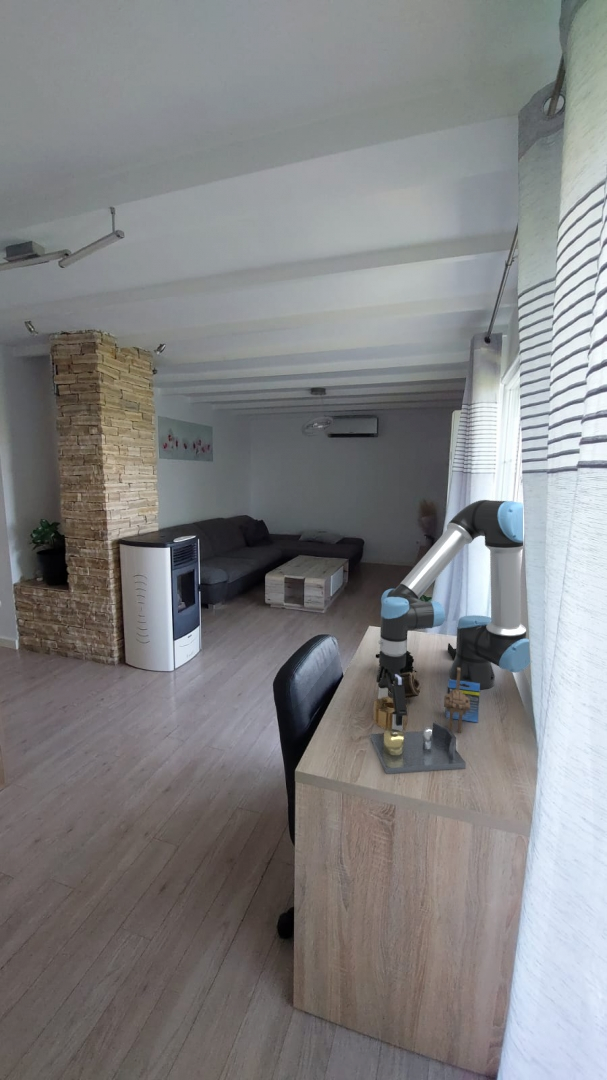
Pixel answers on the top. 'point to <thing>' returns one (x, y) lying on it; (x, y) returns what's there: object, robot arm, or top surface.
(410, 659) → the extrusion
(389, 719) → the gear
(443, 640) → the top surface
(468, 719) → the label tape cartridge
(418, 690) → the mechanical counter
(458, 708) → the ostrich figurine
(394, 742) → the carrier
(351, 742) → the top surface
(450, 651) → the battery charger
